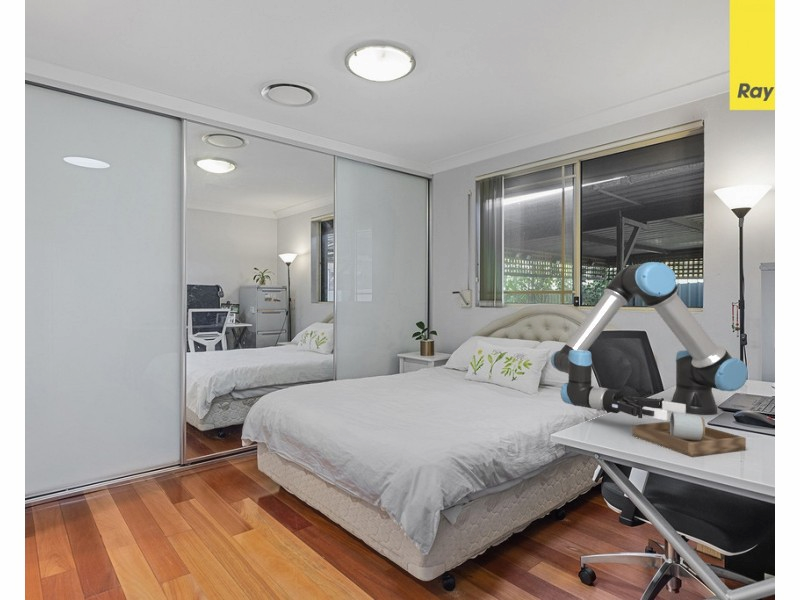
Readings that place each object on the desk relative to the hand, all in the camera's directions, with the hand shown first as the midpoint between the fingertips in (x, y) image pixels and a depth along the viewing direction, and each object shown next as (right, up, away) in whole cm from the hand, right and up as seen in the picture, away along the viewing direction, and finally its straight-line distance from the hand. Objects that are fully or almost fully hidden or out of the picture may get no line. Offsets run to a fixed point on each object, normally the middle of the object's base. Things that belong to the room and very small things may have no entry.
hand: (676, 412), depth 138 cm
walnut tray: (+2, -9, -2) cm, 9 cm away
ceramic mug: (+2, -8, 0) cm, 8 cm away
